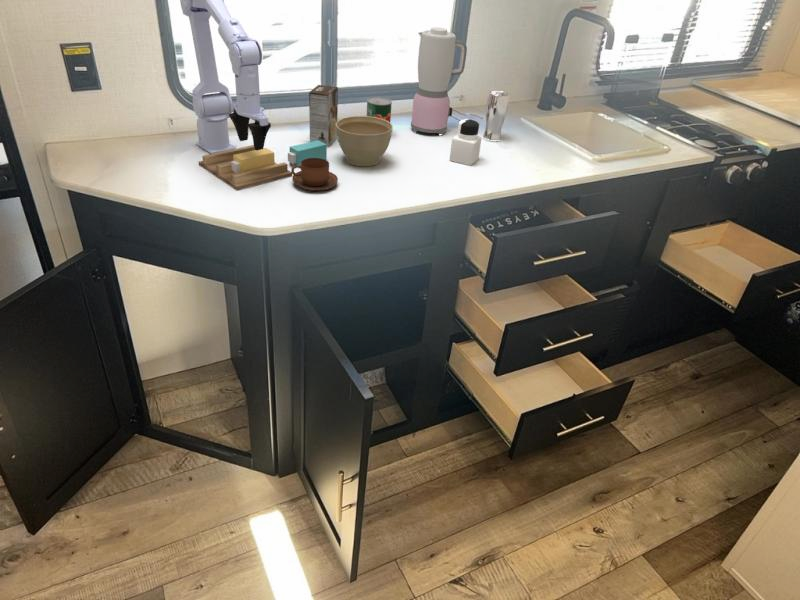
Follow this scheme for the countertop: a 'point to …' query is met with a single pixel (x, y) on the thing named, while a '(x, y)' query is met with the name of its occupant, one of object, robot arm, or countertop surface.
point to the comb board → (223, 170)
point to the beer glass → (495, 114)
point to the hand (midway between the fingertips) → (251, 144)
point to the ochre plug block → (252, 160)
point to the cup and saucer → (314, 175)
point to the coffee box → (323, 114)
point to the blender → (435, 79)
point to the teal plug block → (307, 152)
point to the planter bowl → (363, 139)
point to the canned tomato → (379, 108)
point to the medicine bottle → (466, 143)
